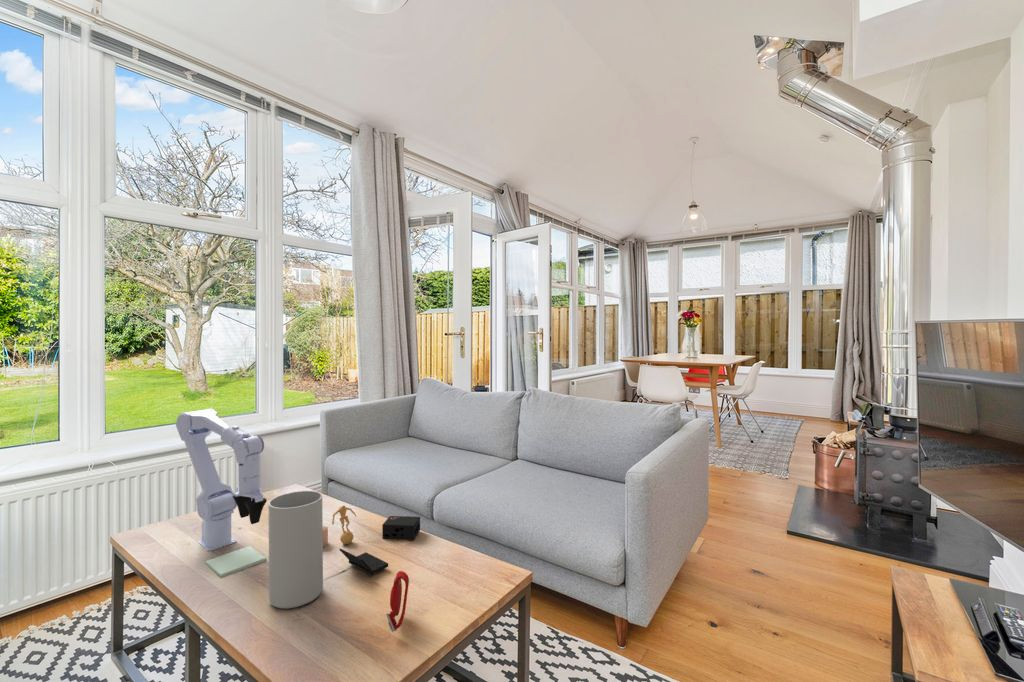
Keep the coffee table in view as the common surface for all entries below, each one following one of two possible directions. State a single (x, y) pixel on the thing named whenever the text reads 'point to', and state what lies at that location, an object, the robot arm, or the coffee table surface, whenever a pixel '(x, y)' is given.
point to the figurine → (346, 535)
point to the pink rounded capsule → (325, 536)
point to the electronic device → (401, 527)
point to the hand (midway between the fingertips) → (249, 519)
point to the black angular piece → (366, 562)
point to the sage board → (235, 561)
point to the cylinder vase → (295, 548)
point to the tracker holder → (397, 600)
